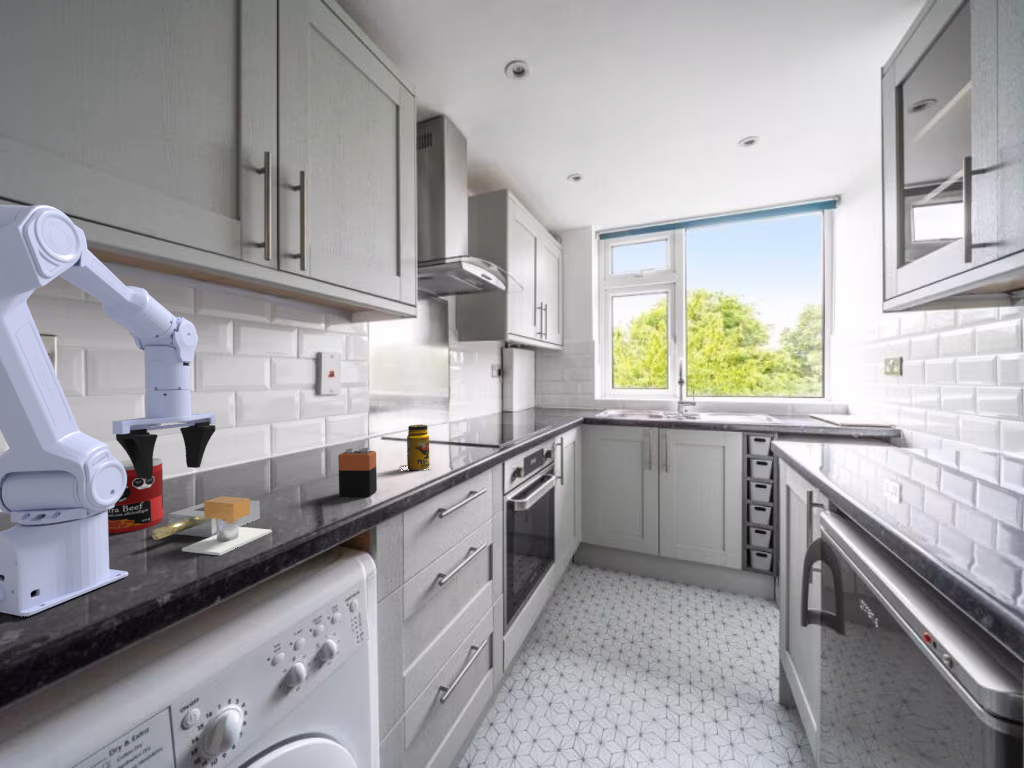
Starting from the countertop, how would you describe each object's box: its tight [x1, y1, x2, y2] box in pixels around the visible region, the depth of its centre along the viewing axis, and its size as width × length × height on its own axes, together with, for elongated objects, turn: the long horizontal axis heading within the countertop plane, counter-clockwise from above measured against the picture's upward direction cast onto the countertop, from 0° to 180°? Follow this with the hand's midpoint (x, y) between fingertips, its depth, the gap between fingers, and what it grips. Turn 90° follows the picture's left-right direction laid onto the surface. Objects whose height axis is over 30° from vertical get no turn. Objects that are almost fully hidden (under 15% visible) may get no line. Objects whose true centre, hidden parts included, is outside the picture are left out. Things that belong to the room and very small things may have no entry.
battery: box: [337, 447, 378, 498], centre depth 88 cm, size 4×7×10 cm, turn 87°
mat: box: [181, 526, 273, 556], centre depth 63 cm, size 9×7×1 cm
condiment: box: [398, 424, 432, 473], centre depth 113 cm, size 7×8×12 cm
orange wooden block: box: [203, 495, 251, 542], centre depth 63 cm, size 6×3×6 cm, turn 76°
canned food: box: [108, 457, 164, 534], centre depth 71 cm, size 8×8×11 cm
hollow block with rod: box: [151, 499, 261, 541], centre depth 68 cm, size 14×9×3 cm, turn 166°
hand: (170, 472), depth 67 cm, fingers open, 7 cm apart
